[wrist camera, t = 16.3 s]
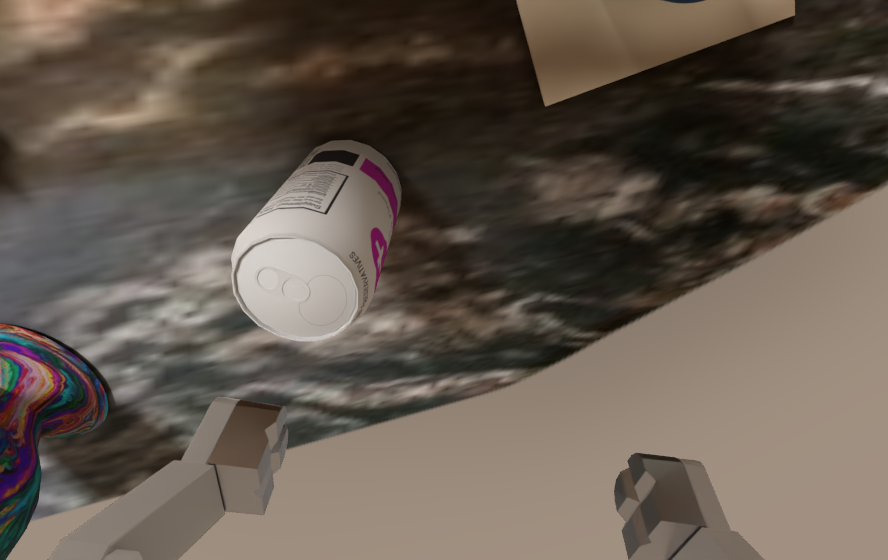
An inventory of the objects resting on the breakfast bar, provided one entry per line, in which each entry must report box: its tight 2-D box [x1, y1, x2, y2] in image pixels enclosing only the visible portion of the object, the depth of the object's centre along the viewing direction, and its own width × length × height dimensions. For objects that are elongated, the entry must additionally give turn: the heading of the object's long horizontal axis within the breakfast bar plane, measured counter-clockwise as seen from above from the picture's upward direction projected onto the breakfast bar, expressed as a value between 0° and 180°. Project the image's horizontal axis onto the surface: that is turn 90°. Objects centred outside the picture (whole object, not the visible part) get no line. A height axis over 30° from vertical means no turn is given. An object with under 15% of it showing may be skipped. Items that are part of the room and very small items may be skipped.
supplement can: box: [231, 140, 402, 341], centre depth 34 cm, size 8×8×15 cm
